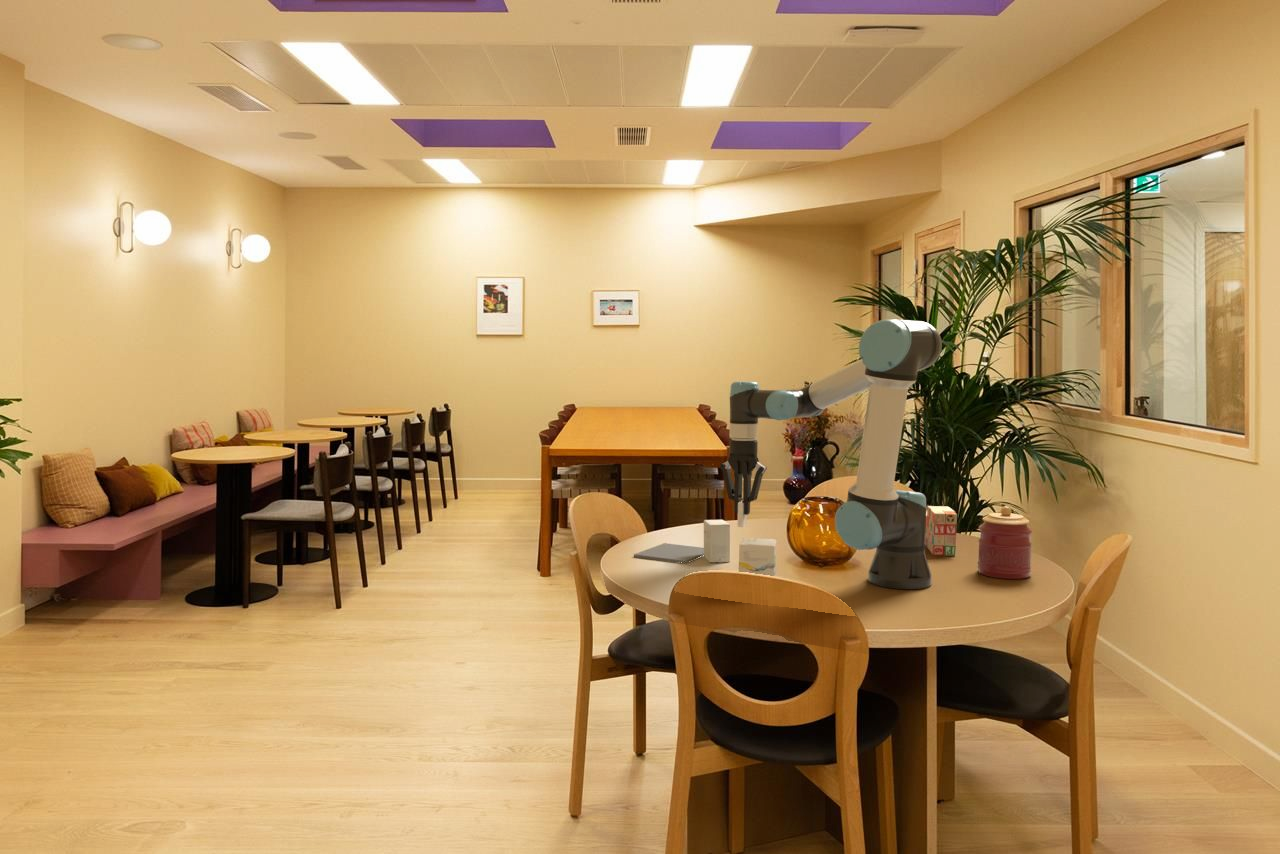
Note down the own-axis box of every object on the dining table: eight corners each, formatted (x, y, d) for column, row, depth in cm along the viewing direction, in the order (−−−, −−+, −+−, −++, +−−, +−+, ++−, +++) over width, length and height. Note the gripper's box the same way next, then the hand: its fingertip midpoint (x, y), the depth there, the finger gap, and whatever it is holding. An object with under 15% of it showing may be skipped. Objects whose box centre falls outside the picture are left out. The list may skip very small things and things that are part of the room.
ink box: (774, 594, 220) (774, 545, 219) (737, 592, 222) (738, 543, 221) (776, 585, 228) (776, 538, 228) (741, 583, 230) (741, 537, 229)
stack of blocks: (920, 540, 285) (922, 500, 284) (942, 541, 284) (943, 501, 283) (932, 555, 264) (934, 512, 263) (955, 556, 263) (957, 513, 262)
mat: (713, 551, 267) (713, 548, 267) (685, 563, 251) (685, 560, 251) (664, 545, 275) (664, 543, 275) (633, 557, 259) (633, 554, 259)
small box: (729, 562, 253) (730, 524, 252) (709, 563, 252) (710, 524, 252) (722, 556, 261) (723, 519, 260) (703, 556, 260) (703, 519, 260)
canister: (966, 570, 246) (968, 503, 244) (1005, 566, 250) (1007, 501, 249) (1001, 581, 233) (1004, 511, 232) (1042, 577, 238) (1045, 509, 237)
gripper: (771, 439, 251) (769, 526, 252) (727, 436, 257) (725, 521, 259) (760, 441, 244) (759, 530, 246) (715, 438, 250) (714, 525, 252)
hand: (742, 526), depth 252 cm, fingers closed
